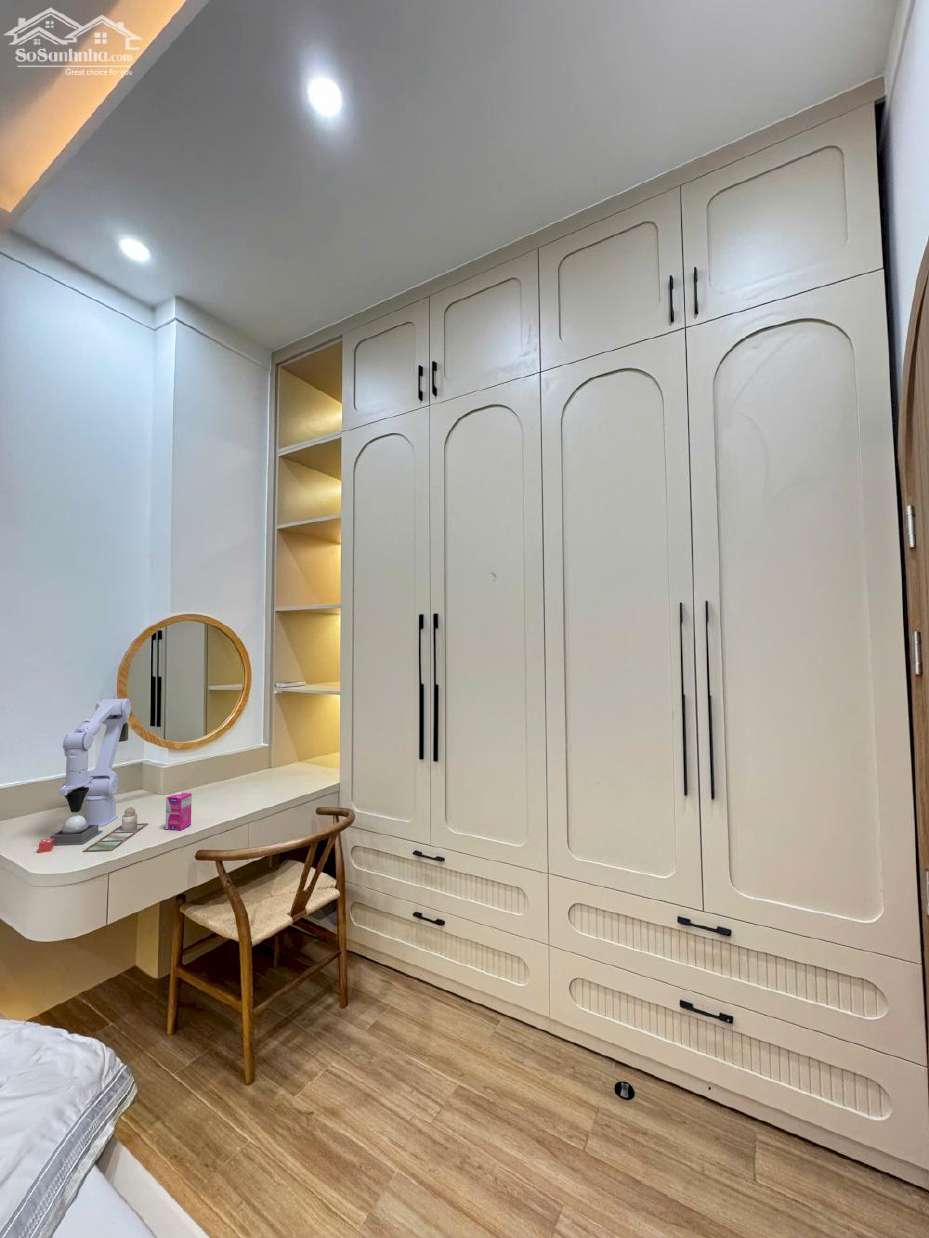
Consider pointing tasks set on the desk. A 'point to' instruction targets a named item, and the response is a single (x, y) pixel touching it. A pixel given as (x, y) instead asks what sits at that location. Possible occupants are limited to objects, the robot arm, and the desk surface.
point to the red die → (46, 845)
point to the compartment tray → (113, 839)
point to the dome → (75, 825)
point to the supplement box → (178, 811)
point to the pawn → (129, 820)
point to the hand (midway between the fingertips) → (75, 811)
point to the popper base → (75, 837)
